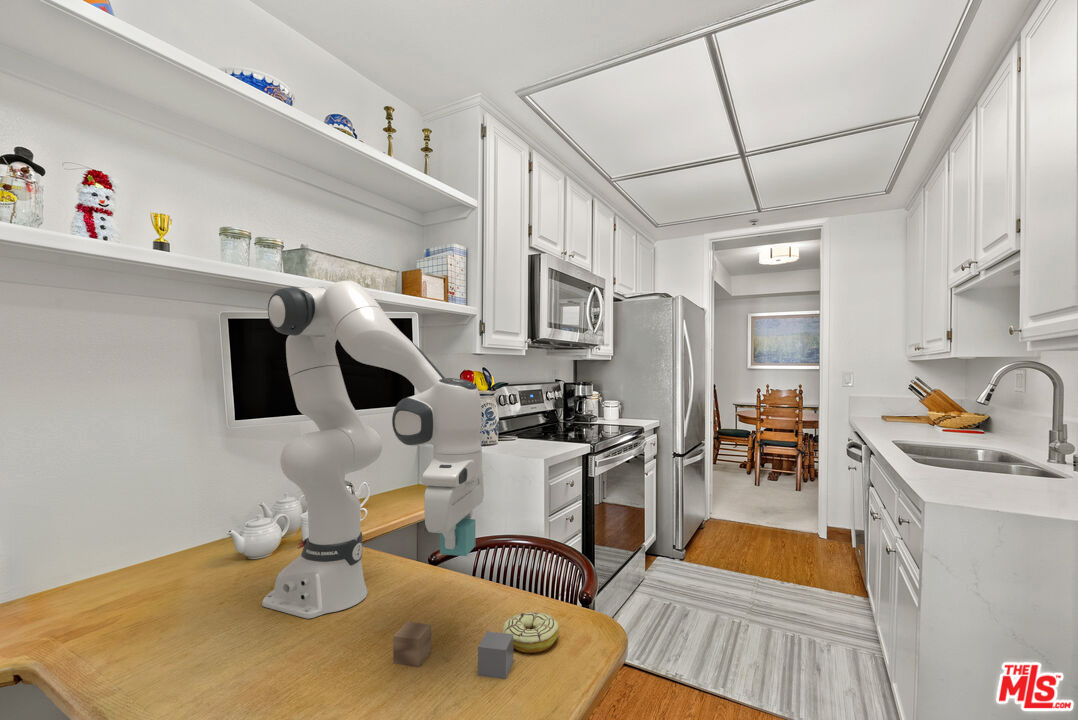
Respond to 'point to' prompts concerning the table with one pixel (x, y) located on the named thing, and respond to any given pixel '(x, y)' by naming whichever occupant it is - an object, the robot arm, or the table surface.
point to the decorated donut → (532, 631)
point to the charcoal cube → (495, 655)
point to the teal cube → (461, 539)
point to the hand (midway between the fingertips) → (457, 541)
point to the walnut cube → (412, 644)
